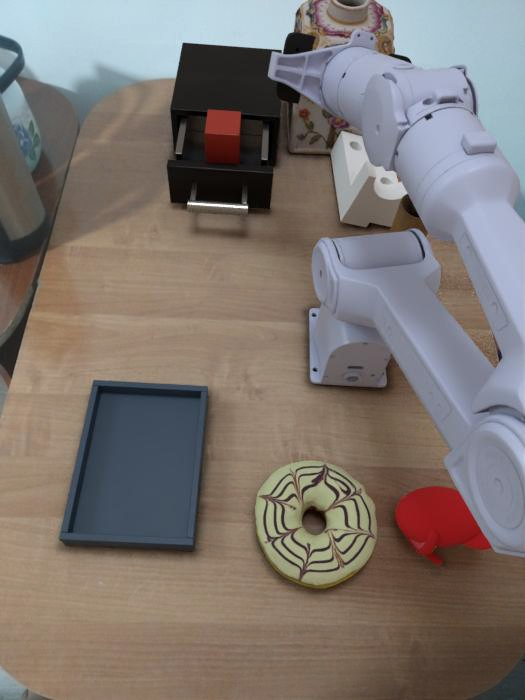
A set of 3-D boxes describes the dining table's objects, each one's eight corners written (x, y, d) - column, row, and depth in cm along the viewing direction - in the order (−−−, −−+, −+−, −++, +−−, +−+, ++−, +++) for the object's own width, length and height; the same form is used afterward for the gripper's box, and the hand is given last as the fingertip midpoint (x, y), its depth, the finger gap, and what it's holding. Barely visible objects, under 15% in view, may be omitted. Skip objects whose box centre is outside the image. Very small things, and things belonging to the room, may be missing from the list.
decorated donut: (331, 451, 54) (337, 436, 51) (392, 554, 50) (404, 544, 46) (234, 498, 51) (235, 485, 48) (290, 612, 47) (295, 606, 43)
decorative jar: (285, 102, 83) (299, -32, 68) (363, 106, 84) (394, -26, 68) (287, 155, 77) (302, 21, 61) (371, 160, 77) (407, 28, 62)
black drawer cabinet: (275, 166, 76) (280, 116, 69) (174, 159, 75) (169, 108, 69) (277, 99, 83) (281, 49, 77) (185, 93, 83) (182, 42, 76)
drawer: (269, 235, 68) (272, 199, 63) (166, 228, 67) (161, 191, 62) (272, 139, 77) (275, 101, 72) (182, 133, 77) (179, 94, 72)
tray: (194, 550, 49) (193, 545, 47) (64, 545, 48) (58, 539, 47) (208, 395, 57) (207, 385, 55) (97, 389, 56) (93, 379, 55)
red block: (238, 182, 71) (239, 135, 65) (206, 180, 70) (204, 132, 64) (239, 159, 73) (241, 111, 67) (209, 157, 73) (207, 109, 67)
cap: (386, 557, 50) (405, 541, 44) (390, 492, 53) (407, 470, 48) (477, 574, 49) (506, 560, 44) (475, 507, 52) (502, 487, 47)
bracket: (391, 233, 72) (423, 189, 65) (340, 221, 69) (369, 175, 63) (376, 164, 78) (404, 118, 72) (330, 152, 76) (355, 104, 70)
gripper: (466, 55, 45) (400, 38, 56) (297, 16, 41) (262, 6, 52) (435, 144, 49) (379, 112, 60) (277, 116, 45) (248, 87, 56)
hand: (323, 68), depth 56 cm, fingers open, 7 cm apart
